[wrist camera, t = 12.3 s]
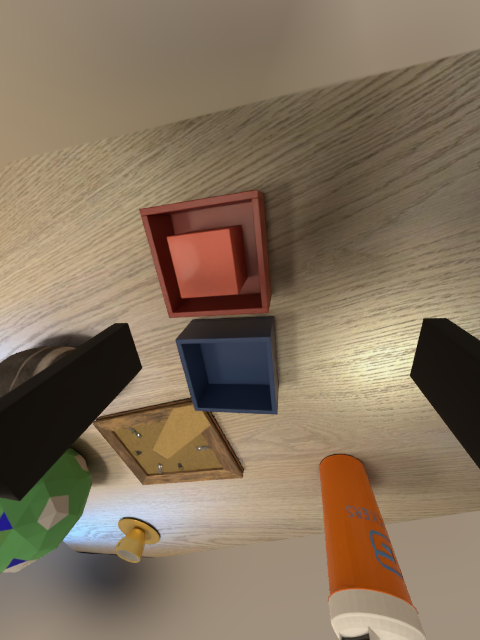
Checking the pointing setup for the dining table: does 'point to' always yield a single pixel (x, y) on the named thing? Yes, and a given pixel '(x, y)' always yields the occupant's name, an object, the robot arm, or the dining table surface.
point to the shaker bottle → (362, 560)
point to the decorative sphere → (43, 513)
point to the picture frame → (170, 444)
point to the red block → (209, 261)
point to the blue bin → (231, 364)
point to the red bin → (211, 215)
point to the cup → (134, 539)
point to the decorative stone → (28, 365)
